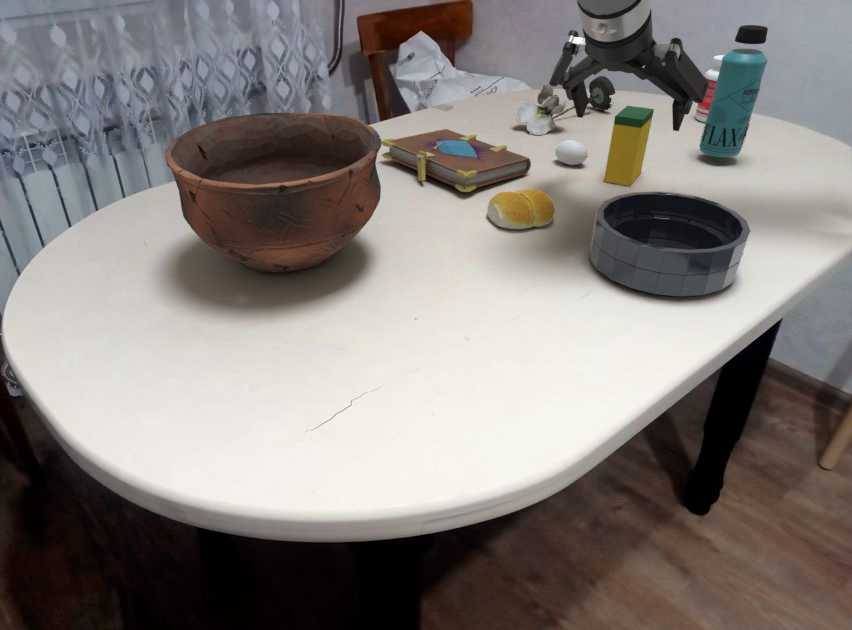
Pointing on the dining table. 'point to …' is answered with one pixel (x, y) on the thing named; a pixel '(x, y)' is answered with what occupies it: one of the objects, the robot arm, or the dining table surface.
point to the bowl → (277, 185)
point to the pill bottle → (709, 89)
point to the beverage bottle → (735, 95)
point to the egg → (571, 152)
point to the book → (456, 159)
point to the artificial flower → (559, 105)
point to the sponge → (628, 145)
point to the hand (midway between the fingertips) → (629, 115)
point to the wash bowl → (668, 243)
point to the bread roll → (521, 209)
